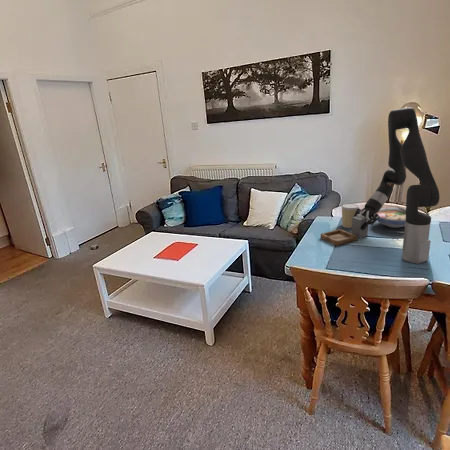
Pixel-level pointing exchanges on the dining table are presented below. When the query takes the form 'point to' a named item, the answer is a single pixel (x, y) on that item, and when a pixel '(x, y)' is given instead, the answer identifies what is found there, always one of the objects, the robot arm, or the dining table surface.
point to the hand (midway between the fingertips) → (357, 227)
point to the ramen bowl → (392, 217)
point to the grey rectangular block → (359, 226)
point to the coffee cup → (348, 214)
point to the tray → (339, 237)
